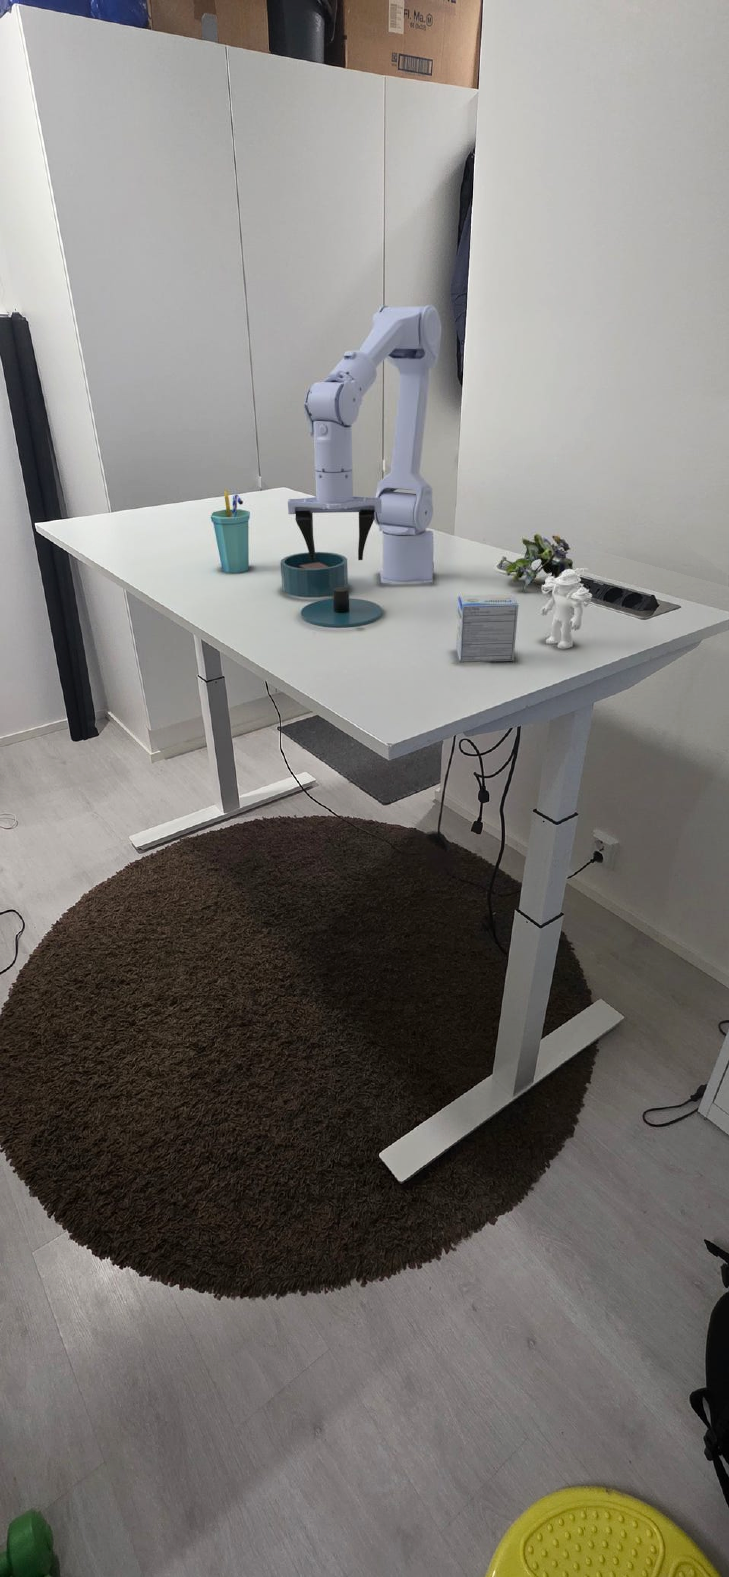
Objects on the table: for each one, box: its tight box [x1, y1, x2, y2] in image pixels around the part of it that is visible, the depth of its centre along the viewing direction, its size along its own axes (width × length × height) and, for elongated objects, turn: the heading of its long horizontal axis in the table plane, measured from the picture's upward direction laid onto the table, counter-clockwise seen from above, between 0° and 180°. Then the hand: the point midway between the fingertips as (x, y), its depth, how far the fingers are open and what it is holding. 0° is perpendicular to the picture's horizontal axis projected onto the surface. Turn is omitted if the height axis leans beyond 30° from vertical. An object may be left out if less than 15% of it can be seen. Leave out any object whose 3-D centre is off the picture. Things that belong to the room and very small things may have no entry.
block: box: [299, 562, 328, 569], centre depth 146 cm, size 4×4×4 cm
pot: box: [280, 551, 349, 599], centre depth 146 cm, size 12×12×5 cm
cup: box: [210, 490, 251, 574], centre depth 155 cm, size 14×8×15 cm, turn 25°
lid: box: [300, 587, 383, 628], centre depth 133 cm, size 13×13×5 cm
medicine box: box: [455, 593, 520, 664], centre depth 115 cm, size 8×4×9 cm, turn 92°
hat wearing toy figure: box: [540, 566, 593, 650], centre depth 119 cm, size 9×4×12 cm, turn 30°
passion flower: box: [498, 533, 575, 593], centre depth 144 cm, size 11×11×12 cm
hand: (336, 559), depth 131 cm, fingers open, 7 cm apart
